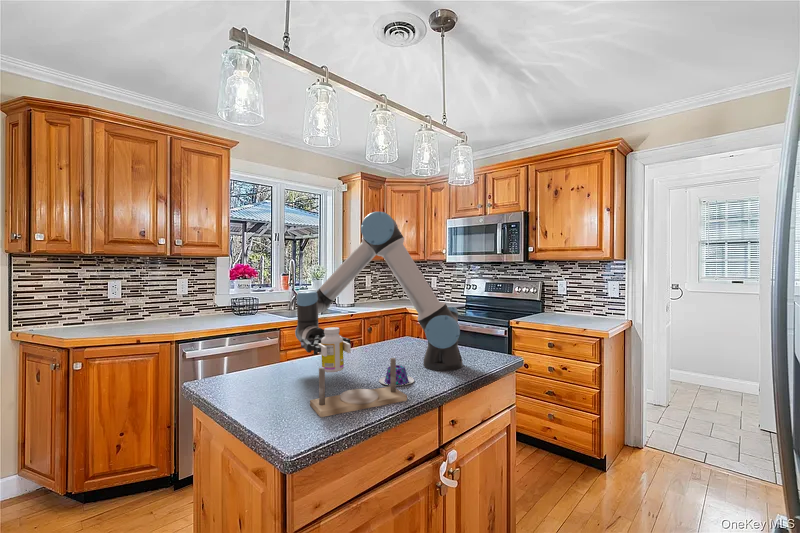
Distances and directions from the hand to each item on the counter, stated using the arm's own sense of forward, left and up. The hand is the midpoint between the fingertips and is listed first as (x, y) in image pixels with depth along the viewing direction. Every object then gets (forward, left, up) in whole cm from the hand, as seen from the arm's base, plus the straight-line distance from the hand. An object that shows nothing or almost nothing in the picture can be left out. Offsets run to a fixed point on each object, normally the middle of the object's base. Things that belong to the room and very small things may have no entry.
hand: (337, 350), depth 118 cm
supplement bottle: (0, -5, -7) cm, 9 cm away
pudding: (-23, -7, -15) cm, 28 cm away
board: (-4, +6, -15) cm, 16 cm away
